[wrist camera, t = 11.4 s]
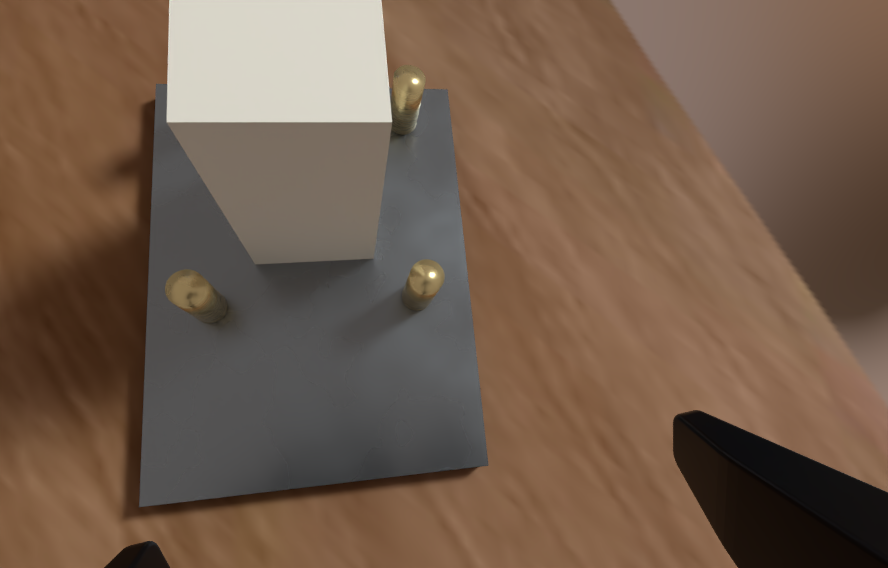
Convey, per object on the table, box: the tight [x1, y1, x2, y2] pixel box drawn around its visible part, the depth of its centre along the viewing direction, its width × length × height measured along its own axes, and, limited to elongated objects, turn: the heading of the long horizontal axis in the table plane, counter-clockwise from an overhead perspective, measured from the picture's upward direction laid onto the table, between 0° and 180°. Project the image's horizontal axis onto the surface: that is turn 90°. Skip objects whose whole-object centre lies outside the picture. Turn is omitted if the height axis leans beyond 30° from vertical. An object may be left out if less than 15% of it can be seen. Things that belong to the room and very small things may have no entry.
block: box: [167, 0, 392, 264], centre depth 16 cm, size 4×4×10 cm
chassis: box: [139, 65, 488, 507], centre depth 19 cm, size 16×12×4 cm
